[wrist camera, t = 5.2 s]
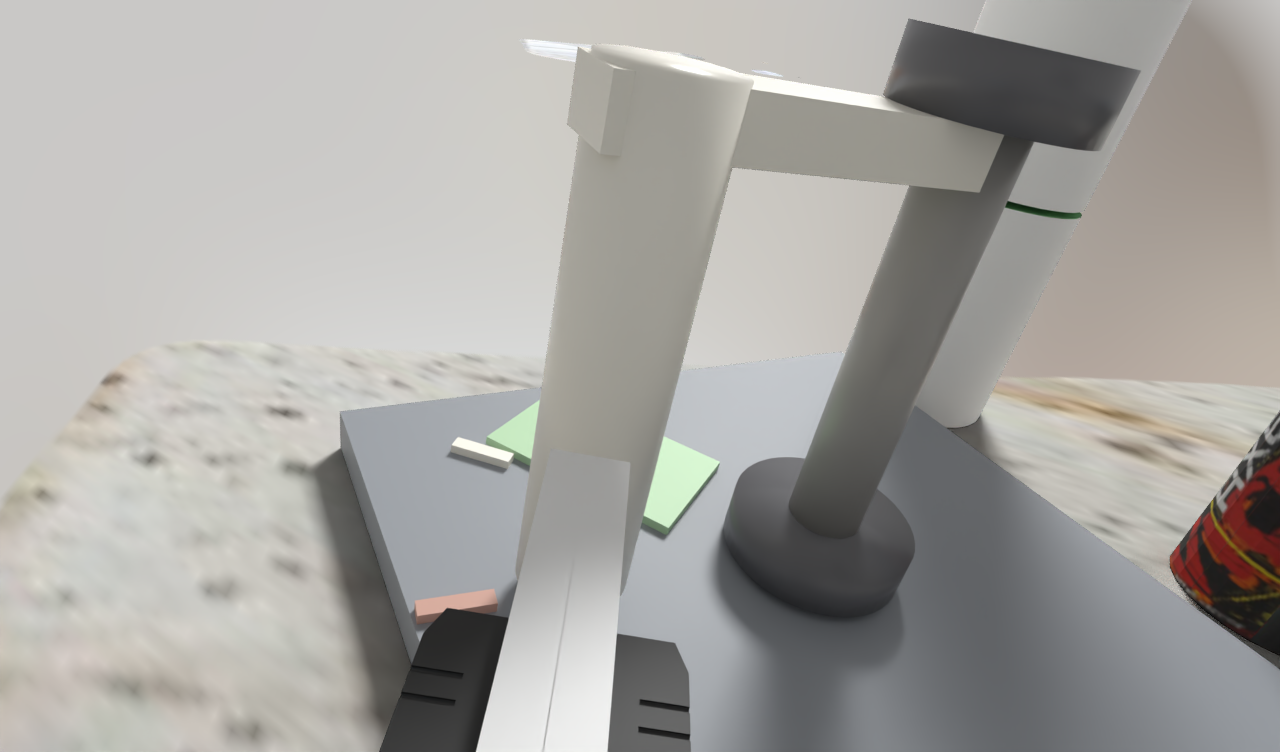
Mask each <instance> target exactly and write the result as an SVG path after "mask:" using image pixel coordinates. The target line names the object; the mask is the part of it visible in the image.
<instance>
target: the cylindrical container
mask: <svg viewBox="0 0 1280 752" xmlns="http://www.w3.org/2000/svg"><path fill="white" fill-rule="evenodd" d="M1191 2H1192V0H986V1H985V3H984V6H983V9H982V11H981V14H980V16H979V19H978V22H977V24H976V27H975V29H974V32H973V33H976V34H980V35H985V36H989V37H994V38H998V39H1003V40H1007V41H1012V42H1016V43H1020V44H1025V45H1029V46H1034V47H1038V48H1043V49H1047V50H1052V51H1056V52H1061V53H1065V54H1070V55H1074V56H1079V57H1083V58H1087V59H1092V60H1096V61H1101V62H1105V63H1110V64H1114V65H1119V66H1123V67H1128V68H1132V69H1136V70H1141V72H1140V74H1139V76H1138V78H1137V80H1136V82H1135V84H1134V86H1133V88H1132V90H1131V92H1130V94H1129V96H1128V98H1127V100H1126V102H1125V104H1124V106H1123V108H1122V110H1121V112H1120V114H1119V116H1118V118H1117V120H1116V122H1115V124H1114V126H1113V128H1112V130H1111V132H1110V134H1109V136H1108V138H1107V140H1106V142H1105V144H1104V146H1103V148H1102V150H1101V151H1084V150H1076V149H1070V148H1064V147H1058V146H1053V145H1048V144H1043V143H1038V142H1034V144H1033V146H1032V148H1031V151H1030V153H1029V155H1028V157H1027V159H1026V162H1025V164H1024V166H1023V168H1022V170H1021V173H1020V175H1019V177H1018V179H1017V181H1016V184H1015V186H1014V188H1013V190H1012V192H1011V195H1010V197H1009V199H1008V201H1007V203H1006V206H1005V208H1004V210H1003V212H1002V214H1001V217H1000V219H999V221H998V223H997V225H996V228H995V230H994V232H993V234H992V236H991V239H990V241H989V243H988V245H987V248H986V250H985V252H984V254H983V256H982V259H981V261H980V263H979V265H978V267H977V270H976V272H975V274H974V276H973V278H972V281H971V283H970V285H969V287H968V289H967V292H966V294H965V296H964V298H963V300H962V303H961V305H960V307H959V309H958V311H957V314H956V316H955V318H954V320H953V322H952V325H951V327H950V329H949V331H948V333H947V336H946V338H945V340H944V342H943V344H942V347H941V349H940V351H939V353H938V355H937V358H936V360H935V362H934V364H933V366H932V369H931V371H930V373H929V375H928V377H927V380H926V382H925V384H924V386H923V388H922V391H921V393H920V395H919V397H918V399H917V402H916V404H915V406H917V407H918V408H919V409H921V410H922V411H924V412H925V413H926V414H928V415H929V416H930V417H932V418H933V419H935V420H936V421H937V422H939V423H940V424H942V425H943V426H944V427H947V428H959V427H964V426H968V425H971V424H973V423H975V422H976V420H977V419H978V418H979V416H980V414H981V412H982V410H983V408H984V407H985V405H986V403H987V401H988V399H989V397H990V395H991V393H992V391H993V389H994V387H995V385H996V383H997V381H998V379H999V377H1000V375H1001V373H1002V371H1003V369H1004V367H1005V365H1006V363H1007V361H1008V360H1009V357H1010V355H1011V354H1012V352H1013V350H1014V348H1015V346H1016V344H1017V342H1018V340H1019V338H1020V336H1021V334H1022V332H1023V330H1024V328H1025V326H1026V324H1027V322H1028V320H1029V318H1030V316H1031V314H1032V312H1033V310H1034V309H1035V307H1036V305H1037V303H1038V301H1039V299H1040V297H1041V295H1042V293H1043V291H1044V289H1045V287H1046V285H1047V283H1048V281H1049V279H1050V277H1051V275H1052V273H1053V271H1054V269H1055V267H1056V265H1057V264H1058V262H1059V260H1060V258H1061V256H1062V254H1063V252H1064V250H1065V248H1066V246H1067V244H1068V242H1069V240H1070V238H1071V236H1072V234H1073V232H1074V230H1075V228H1076V226H1077V224H1078V222H1079V220H1080V218H1081V216H1082V215H1081V213H1080V212H1083V211H1085V209H1086V207H1087V205H1088V203H1089V201H1090V199H1091V197H1092V195H1093V193H1094V191H1095V189H1096V187H1097V185H1098V183H1099V181H1100V179H1101V177H1102V176H1103V173H1104V172H1105V170H1106V168H1107V166H1108V164H1109V162H1110V160H1111V158H1112V156H1113V154H1114V152H1115V150H1116V148H1117V146H1118V144H1119V142H1120V140H1121V138H1122V136H1123V134H1124V132H1125V130H1126V129H1127V127H1128V125H1129V123H1130V121H1131V119H1132V117H1133V115H1134V113H1135V111H1136V109H1137V107H1138V105H1139V103H1140V101H1141V99H1142V97H1143V95H1144V93H1145V91H1146V90H1147V88H1148V86H1149V84H1150V82H1151V80H1152V78H1153V76H1154V74H1155V72H1156V70H1157V68H1158V66H1159V64H1160V62H1161V60H1162V58H1163V56H1164V54H1165V52H1166V50H1167V49H1168V46H1169V45H1170V42H1171V41H1172V39H1173V37H1174V34H1175V33H1176V31H1177V29H1178V27H1179V25H1180V23H1181V21H1182V19H1183V17H1184V15H1185V13H1186V11H1187V9H1188V7H1189V5H1190V3H1191Z"/></svg>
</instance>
